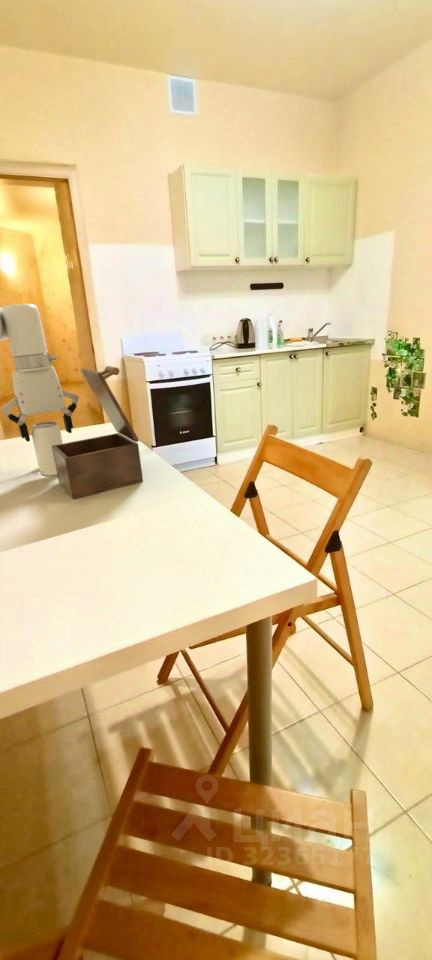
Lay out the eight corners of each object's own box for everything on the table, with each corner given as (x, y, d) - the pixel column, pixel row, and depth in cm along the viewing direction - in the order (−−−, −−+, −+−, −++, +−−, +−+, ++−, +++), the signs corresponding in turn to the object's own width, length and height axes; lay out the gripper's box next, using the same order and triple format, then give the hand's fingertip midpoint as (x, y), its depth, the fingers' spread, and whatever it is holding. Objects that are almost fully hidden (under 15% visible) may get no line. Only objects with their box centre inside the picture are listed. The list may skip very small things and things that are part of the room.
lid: (97, 374, 88) (120, 360, 90) (80, 369, 98) (100, 357, 100) (136, 442, 96) (156, 429, 98) (116, 431, 106) (135, 419, 108)
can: (49, 467, 114) (39, 421, 109) (72, 467, 112) (63, 421, 108) (34, 476, 108) (24, 428, 104) (59, 476, 106) (49, 427, 102)
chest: (72, 499, 92) (65, 459, 89) (59, 482, 103) (51, 445, 100) (143, 481, 100) (138, 443, 96) (123, 467, 110) (118, 432, 107)
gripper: (66, 357, 108) (80, 426, 114) (-11, 367, 100) (8, 440, 106) (74, 358, 102) (88, 431, 108) (-8, 369, 94) (12, 447, 100)
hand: (48, 436), depth 107 cm, fingers open, 9 cm apart
